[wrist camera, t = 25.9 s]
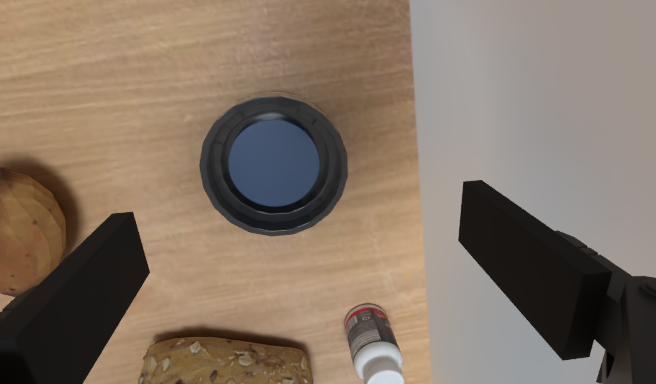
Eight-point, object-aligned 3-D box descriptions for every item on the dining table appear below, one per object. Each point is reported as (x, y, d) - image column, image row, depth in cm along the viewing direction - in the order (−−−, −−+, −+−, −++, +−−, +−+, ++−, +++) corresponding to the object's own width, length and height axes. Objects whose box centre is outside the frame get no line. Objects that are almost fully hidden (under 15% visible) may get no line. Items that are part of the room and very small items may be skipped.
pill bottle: (393, 324, 47) (419, 390, 38) (356, 343, 48) (373, 412, 39) (374, 295, 45) (397, 357, 36) (336, 315, 46) (349, 381, 37)
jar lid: (217, 128, 35) (214, 133, 34) (305, 105, 36) (306, 108, 34) (247, 208, 39) (245, 216, 37) (327, 187, 39) (329, 193, 37)
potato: (78, 243, 42) (-10, 278, 38) (24, 135, 34) (-95, 163, 30) (96, 281, 37) (-2, 326, 33) (38, 167, 30) (-100, 205, 25)
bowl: (338, 86, 36) (345, 91, 32) (342, 210, 41) (349, 229, 37) (198, 95, 35) (187, 101, 31) (220, 221, 40) (213, 242, 35)
